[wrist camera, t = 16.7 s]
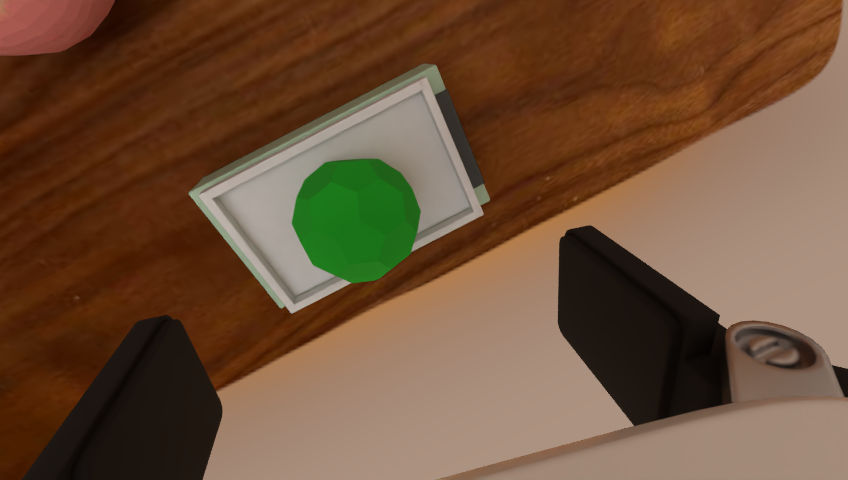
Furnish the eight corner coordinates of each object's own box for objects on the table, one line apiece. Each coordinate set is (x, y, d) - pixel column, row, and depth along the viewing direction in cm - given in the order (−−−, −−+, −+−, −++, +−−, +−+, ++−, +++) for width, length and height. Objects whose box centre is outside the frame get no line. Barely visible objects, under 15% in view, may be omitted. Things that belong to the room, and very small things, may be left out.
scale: (424, 62, 20) (443, 65, 16) (475, 186, 23) (499, 208, 20) (202, 177, 20) (177, 202, 16) (284, 285, 23) (278, 323, 20)
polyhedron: (422, 226, 20) (448, 274, 16) (327, 265, 20) (327, 324, 15) (384, 127, 17) (403, 152, 13) (276, 170, 17) (260, 209, 13)
